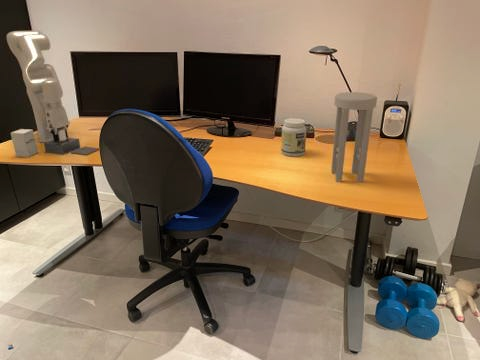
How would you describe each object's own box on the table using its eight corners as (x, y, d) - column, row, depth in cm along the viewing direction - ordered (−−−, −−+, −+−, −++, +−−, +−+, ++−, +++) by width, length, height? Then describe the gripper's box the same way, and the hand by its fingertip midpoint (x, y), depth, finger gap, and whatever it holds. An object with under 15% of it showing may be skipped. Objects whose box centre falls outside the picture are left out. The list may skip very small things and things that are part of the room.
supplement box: (28, 157, 188) (22, 133, 183) (16, 156, 190) (9, 132, 185) (38, 152, 195) (33, 129, 190) (26, 152, 196) (20, 128, 191)
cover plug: (55, 150, 197) (50, 128, 193) (63, 147, 202) (58, 126, 197) (63, 152, 196) (58, 129, 191) (70, 149, 200) (66, 127, 195)
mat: (71, 153, 194) (70, 152, 193) (84, 147, 202) (84, 146, 202) (86, 155, 190) (86, 154, 190) (99, 149, 199) (99, 148, 199)
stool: (360, 170, 169) (370, 91, 155) (369, 184, 155) (381, 99, 141) (325, 169, 170) (332, 91, 155) (332, 183, 155) (340, 99, 141)
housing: (45, 152, 196) (43, 143, 194) (63, 145, 206) (61, 136, 204) (63, 154, 192) (61, 145, 190) (80, 147, 202) (78, 138, 200)
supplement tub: (297, 159, 183) (299, 125, 176) (276, 154, 189) (277, 121, 183) (309, 152, 192) (311, 119, 185) (288, 147, 198) (290, 116, 192)
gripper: (46, 109, 181) (54, 145, 188) (72, 102, 195) (78, 135, 202) (34, 108, 183) (42, 143, 190) (61, 101, 198) (67, 134, 205)
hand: (61, 139), depth 196 cm, fingers closed on cover plug, 5 cm apart
